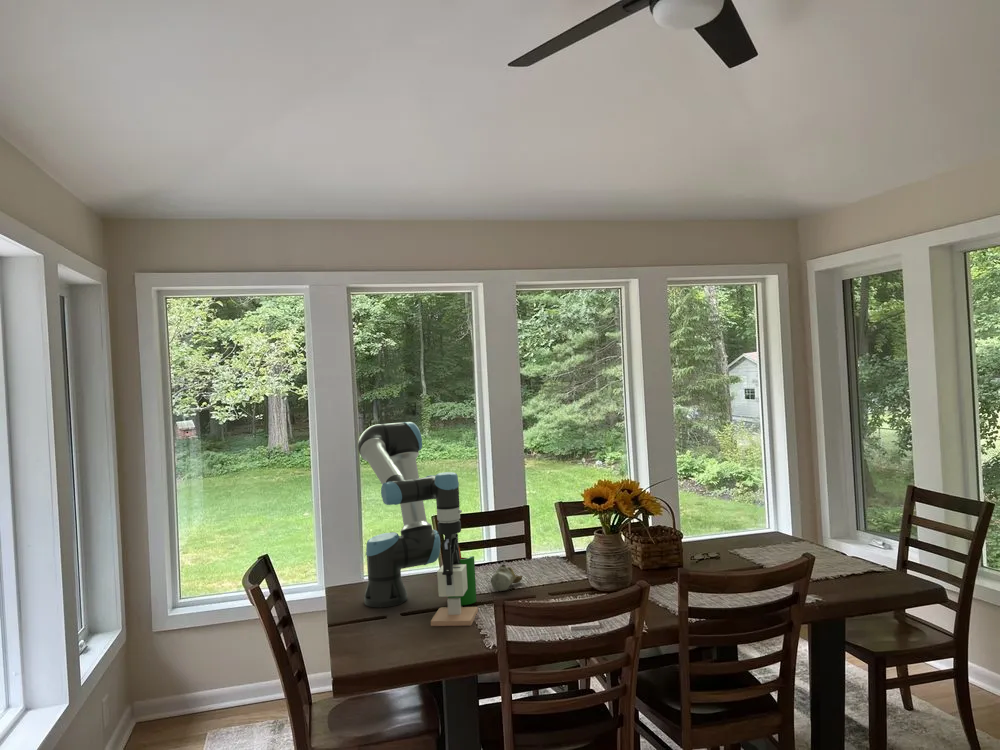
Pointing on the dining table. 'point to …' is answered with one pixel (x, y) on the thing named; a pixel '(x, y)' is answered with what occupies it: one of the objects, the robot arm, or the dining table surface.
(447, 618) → the base
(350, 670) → the dining table surface
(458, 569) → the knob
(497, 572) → the ceramic sculpture
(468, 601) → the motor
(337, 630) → the dining table surface
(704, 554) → the dining table surface
